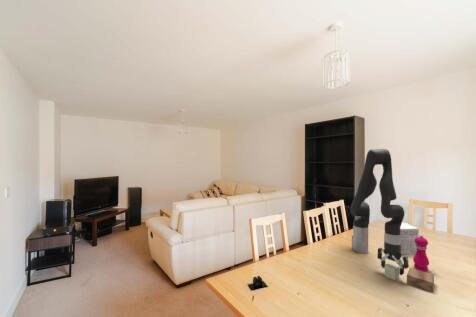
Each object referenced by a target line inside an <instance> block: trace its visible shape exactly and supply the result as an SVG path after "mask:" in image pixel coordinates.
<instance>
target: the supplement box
mask: <svg viewBox="0 0 476 317" xmlns="http://www.w3.org/2000/svg"><path fill="white" fill-rule="evenodd" d="M419 230H420V229H419V227H415V226H414V225H411V224H409V223H406V222H402V224H401V227H400V236H401V255H402V256H408V255H413V256H414V255H415V254H416V251H417V248H416V243H415V238H416V237H420V236H419V235H420V234H419V233H420V232H419Z"/></svg>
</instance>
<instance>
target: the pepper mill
mask: <svg viewBox="0 0 476 317" xmlns="http://www.w3.org/2000/svg"><path fill="white" fill-rule="evenodd" d="M415 243H416V248H417V251H416V254H415V255H413V257H412V261H413V269H416V270H420V271H423V272H427V271H429V267H428V266H429V265H430V261H429V258H428V256H427V251H426V250H428V247H427V246H428V245H429V241H428V240H427V238H425V237H424V235H423V234H419V237H416V238H415Z"/></svg>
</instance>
